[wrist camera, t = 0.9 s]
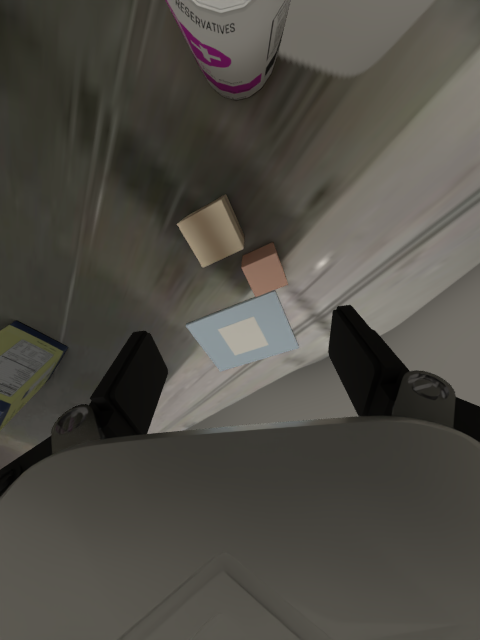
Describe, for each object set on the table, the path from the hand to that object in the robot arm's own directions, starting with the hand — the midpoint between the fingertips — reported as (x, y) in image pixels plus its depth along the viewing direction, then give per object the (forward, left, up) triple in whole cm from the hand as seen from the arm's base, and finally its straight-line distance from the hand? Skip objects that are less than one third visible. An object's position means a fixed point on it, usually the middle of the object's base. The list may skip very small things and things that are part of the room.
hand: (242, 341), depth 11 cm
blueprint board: (+9, +18, -25) cm, 32 cm away
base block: (+4, -2, -25) cm, 25 cm away
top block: (0, +6, -25) cm, 25 cm away
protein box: (+54, +4, -25) cm, 59 cm away
